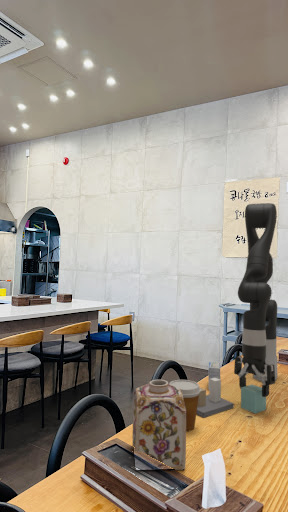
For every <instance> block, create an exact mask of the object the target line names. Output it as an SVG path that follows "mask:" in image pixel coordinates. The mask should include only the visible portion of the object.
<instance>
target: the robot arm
mask: <svg viewBox="0 0 288 512" xmlns="http://www.w3.org/2000/svg"><path fill="white" fill-rule="evenodd" d="M277 215H278V212H277V207H276V204H274V203H272V202H271V203H269V202H265V203H263V202H262V203H248V204H247V205H246V206H245V208H244V221H245V232H246V240H247V261H246V268H245V272H244V275H243V278H242V279H241V282H240V284H239V286H238V289H237V296H238V297H237V298H238V299H239V301H240V302H242V303H244V304H249V309H248V310H245V311H244V312H243V317H242V320H243V321H242V323H243V324H242V334H241V336H242V338H241V339H242V341H241V343H242V345H241V346H242V347H241V352H242V355H239V356H234V357H235V358H234V370H233V373H234V375H237V376H238V379H239V380H238V381H239V384H238V385H239V389H240V390H241V387H244V386H247V377H246V376H247V375H248V374H252V378H253V379H254V380H257V381H259V382H261V384H262V385H261V388H262V397H266V398H268V396H269V395H270V386H271V385H274V384H276V381H277V379H278V356H277V323H278V304H277V301H276V300H275V299H271V297H272V294H273V293H272V292H273V291H272V288H271V286H270V284H269V281H270V279H271V278H272V277H273V274H274V268H273V267H274V264H273V262H274V260H273V256H272V254H271V252H270V251H271V248H272V247H271V246H272V243H273V238H274V233H275V229H276V225H277V218H278V217H277ZM257 229H264V231H263V234H261V236H260V237H259V235H258V233H257ZM266 322H268V323H267V324H266Z"/></svg>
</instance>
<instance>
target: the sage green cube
mask: <svg viewBox="0 0 288 512" xmlns="http://www.w3.org/2000/svg"><path fill="white" fill-rule="evenodd" d="M240 408H241V409H243V410H245V411H248V412H250V413H253V414H258V413H261V412H264V411H266V410H267V397H262V386H261V387H260V386H258V385H255V384H248V385H246V386H244V387H241V389H240Z"/></svg>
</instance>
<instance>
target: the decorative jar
mask: <svg viewBox="0 0 288 512" xmlns="http://www.w3.org/2000/svg"><path fill="white" fill-rule="evenodd" d="M183 399H184V398H183V394H182V391H181V390H180V389H179V388H176V387H174V386H171V385H169V382H168V380H165V379H153V380H151V381H149V383H147V384H143V385H140V386H139V387H136V388H135V390H134V392H133V409H132V411H133V412H132V447H133V446H134V447H135V451H137V452H138V451H139V452H140V451H141V452H143V453H145V454H147V455H149V456H150V457H152V458H154V459H156V460H158V461H160V462H162V463H164V464H165V465H167V466H169V467H171V468H173V469H175V470H174V471H184V470H185V469H186V464H187V462H186V458H187V454H186V453H187V431H186V407H185V402H184V400H183ZM183 469H184V470H183Z"/></svg>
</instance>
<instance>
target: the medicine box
mask: <svg viewBox="0 0 288 512" xmlns="http://www.w3.org/2000/svg"><path fill="white" fill-rule="evenodd" d="M207 370H208V371H207V374H208V377H207V378H208V382H207V383H208V385H207V386H208V391H210V379H212V378H217V379H220V380H221V363H220V362H213V361H212V362H209V363H208V369H207Z"/></svg>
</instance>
